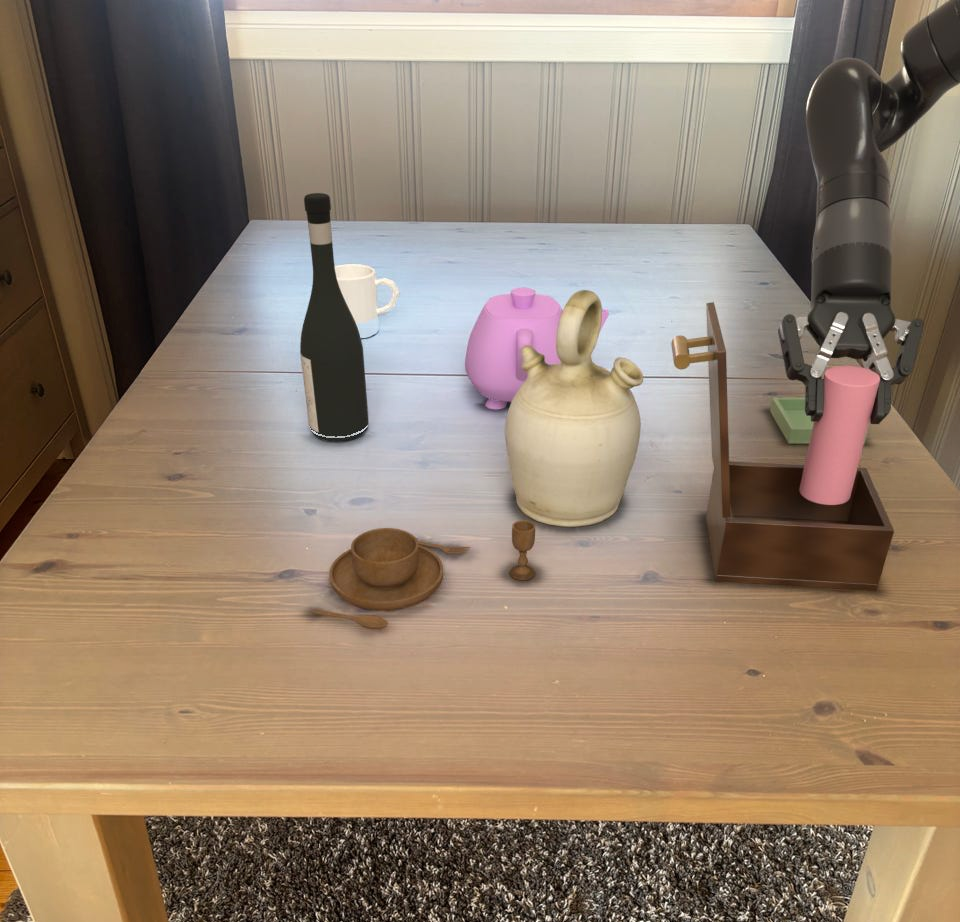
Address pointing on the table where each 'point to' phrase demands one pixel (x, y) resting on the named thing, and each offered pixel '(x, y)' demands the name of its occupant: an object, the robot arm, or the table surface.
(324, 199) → the wine bottle
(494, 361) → the teapot
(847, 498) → the tube
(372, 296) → the mug
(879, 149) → the robot arm
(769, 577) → the chest
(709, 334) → the chest lid
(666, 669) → the table surface
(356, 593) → the place setting
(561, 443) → the jug
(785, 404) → the tray
